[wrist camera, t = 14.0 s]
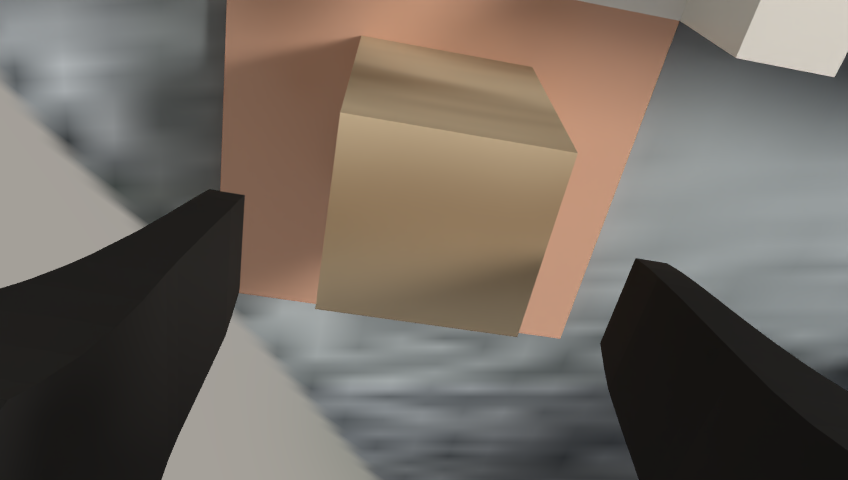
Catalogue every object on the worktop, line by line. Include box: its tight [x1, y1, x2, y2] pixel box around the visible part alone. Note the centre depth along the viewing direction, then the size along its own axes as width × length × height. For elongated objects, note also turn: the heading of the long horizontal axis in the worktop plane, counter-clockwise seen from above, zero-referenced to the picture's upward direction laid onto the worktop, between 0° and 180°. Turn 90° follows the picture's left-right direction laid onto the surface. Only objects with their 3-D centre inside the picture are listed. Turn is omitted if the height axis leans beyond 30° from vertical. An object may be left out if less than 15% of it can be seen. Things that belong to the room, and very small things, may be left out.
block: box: [315, 36, 578, 337], centre depth 14 cm, size 4×4×5 cm
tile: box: [220, 0, 679, 339], centre depth 17 cm, size 10×10×1 cm
